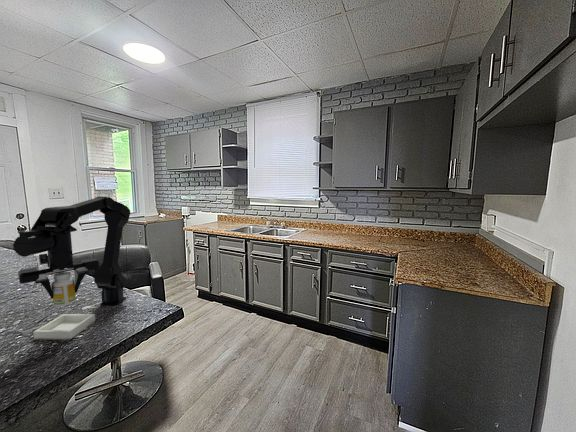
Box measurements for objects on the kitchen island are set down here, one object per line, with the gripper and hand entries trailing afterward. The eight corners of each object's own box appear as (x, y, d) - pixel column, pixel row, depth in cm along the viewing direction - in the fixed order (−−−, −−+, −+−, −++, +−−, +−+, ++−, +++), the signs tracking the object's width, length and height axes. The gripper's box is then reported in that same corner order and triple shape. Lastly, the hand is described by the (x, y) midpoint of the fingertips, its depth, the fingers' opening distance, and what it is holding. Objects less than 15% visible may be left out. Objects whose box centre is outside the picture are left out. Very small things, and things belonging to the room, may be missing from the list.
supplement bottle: (73, 297, 85) (71, 269, 83) (77, 302, 81) (75, 273, 80) (52, 303, 80) (49, 273, 79) (55, 308, 77) (52, 278, 76)
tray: (95, 320, 87) (94, 314, 87) (70, 339, 77) (69, 331, 76) (64, 320, 87) (63, 314, 86) (34, 339, 76) (33, 331, 76)
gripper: (90, 239, 91) (93, 280, 93) (14, 248, 77) (19, 297, 79) (98, 244, 84) (102, 289, 86) (17, 255, 70) (23, 308, 71)
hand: (64, 295), depth 80 cm, fingers closed on supplement bottle, 5 cm apart
